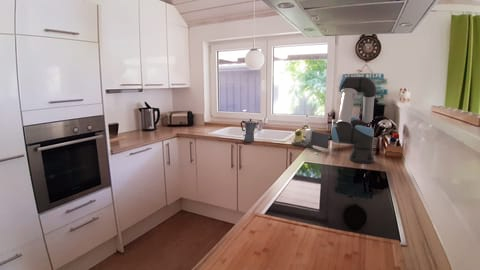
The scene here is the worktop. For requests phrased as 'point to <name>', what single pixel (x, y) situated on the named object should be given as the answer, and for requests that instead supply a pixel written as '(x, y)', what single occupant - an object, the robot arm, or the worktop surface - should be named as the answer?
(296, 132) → the pale yellow rounded lump
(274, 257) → the worktop surface
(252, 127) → the moka pot
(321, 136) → the grey white box
